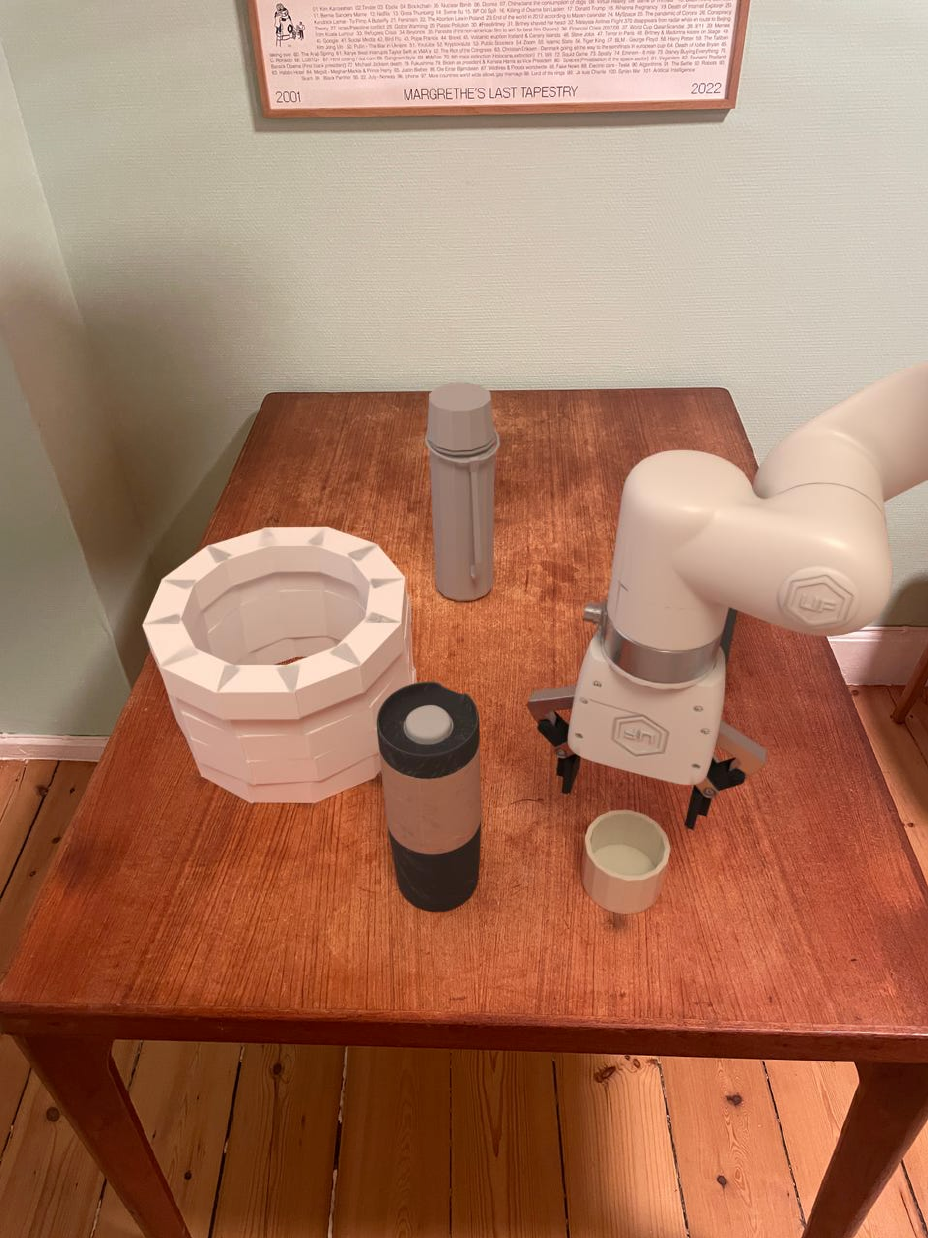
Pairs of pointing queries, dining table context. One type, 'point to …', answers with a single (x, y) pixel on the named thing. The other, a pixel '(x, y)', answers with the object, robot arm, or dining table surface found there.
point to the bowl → (624, 861)
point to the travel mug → (432, 792)
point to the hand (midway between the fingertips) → (629, 797)
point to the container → (283, 659)
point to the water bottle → (462, 488)
